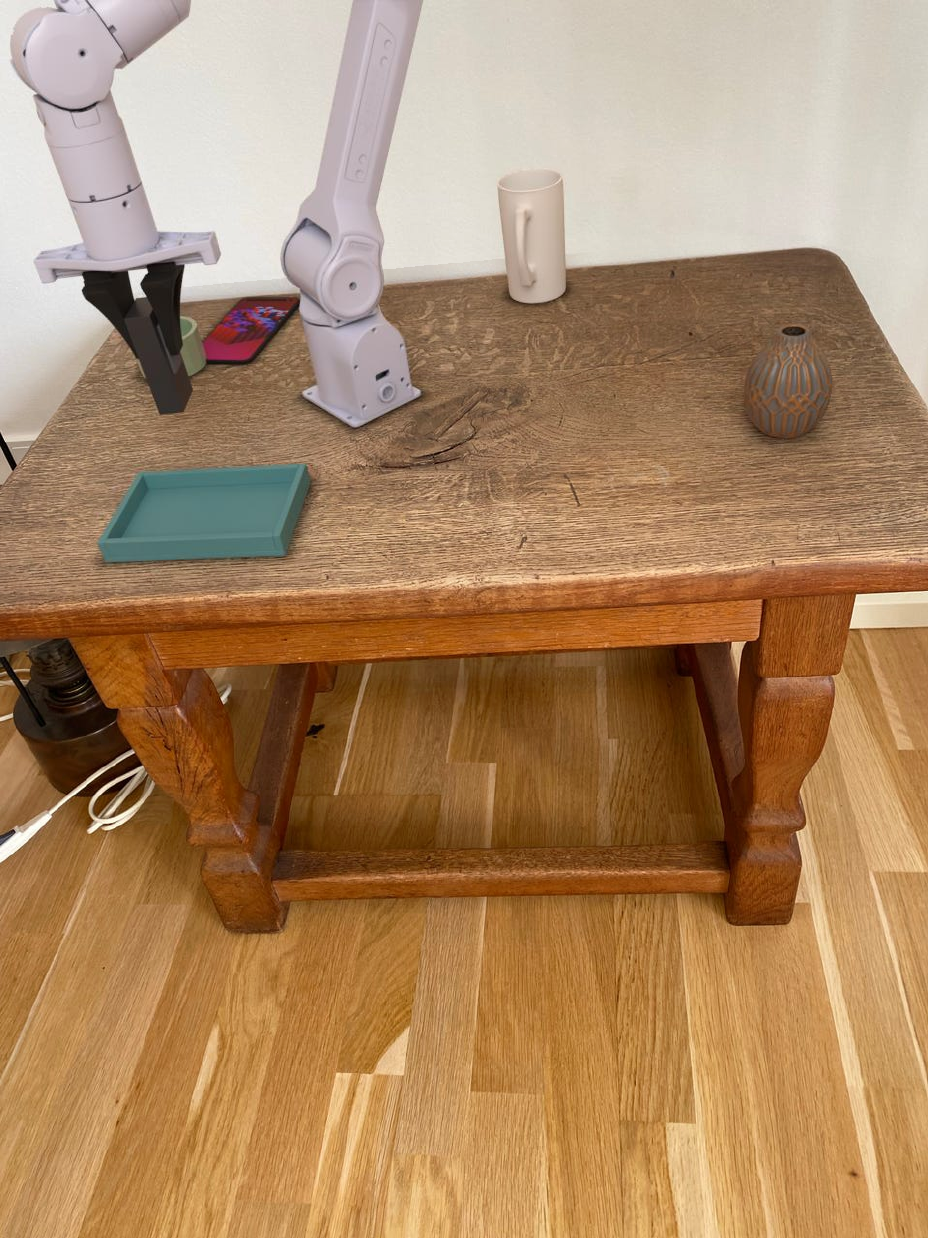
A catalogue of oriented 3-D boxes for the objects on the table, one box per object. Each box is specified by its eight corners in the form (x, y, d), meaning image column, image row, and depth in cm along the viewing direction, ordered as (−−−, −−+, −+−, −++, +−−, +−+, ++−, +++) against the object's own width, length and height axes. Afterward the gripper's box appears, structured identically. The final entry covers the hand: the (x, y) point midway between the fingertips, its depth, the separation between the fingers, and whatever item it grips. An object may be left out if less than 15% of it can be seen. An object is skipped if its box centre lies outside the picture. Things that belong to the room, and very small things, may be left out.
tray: (311, 482, 87) (306, 462, 86) (285, 555, 80) (279, 535, 79) (145, 490, 90) (138, 471, 88) (105, 562, 82) (96, 543, 81)
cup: (219, 363, 107) (208, 328, 104) (159, 389, 104) (147, 353, 101) (189, 344, 111) (178, 310, 109) (131, 368, 108) (118, 334, 106)
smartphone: (184, 359, 108) (242, 296, 118) (186, 367, 108) (244, 303, 119) (249, 361, 106) (302, 296, 116) (251, 368, 106) (304, 304, 117)
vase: (735, 408, 88) (741, 314, 83) (816, 401, 88) (828, 306, 82) (749, 451, 83) (757, 354, 77) (835, 444, 83) (849, 346, 77)
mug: (514, 278, 114) (505, 168, 106) (573, 278, 112) (568, 166, 104) (493, 318, 107) (481, 204, 99) (556, 319, 105) (549, 202, 97)
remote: (195, 389, 91) (163, 294, 85) (186, 412, 88) (151, 315, 82) (170, 392, 91) (135, 297, 85) (159, 415, 88) (123, 318, 82)
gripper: (206, 160, 80) (250, 321, 89) (31, 182, 81) (92, 338, 90) (187, 192, 74) (236, 359, 83) (0, 214, 76) (68, 377, 85)
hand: (160, 351), depth 86 cm, fingers closed on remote, 2 cm apart
